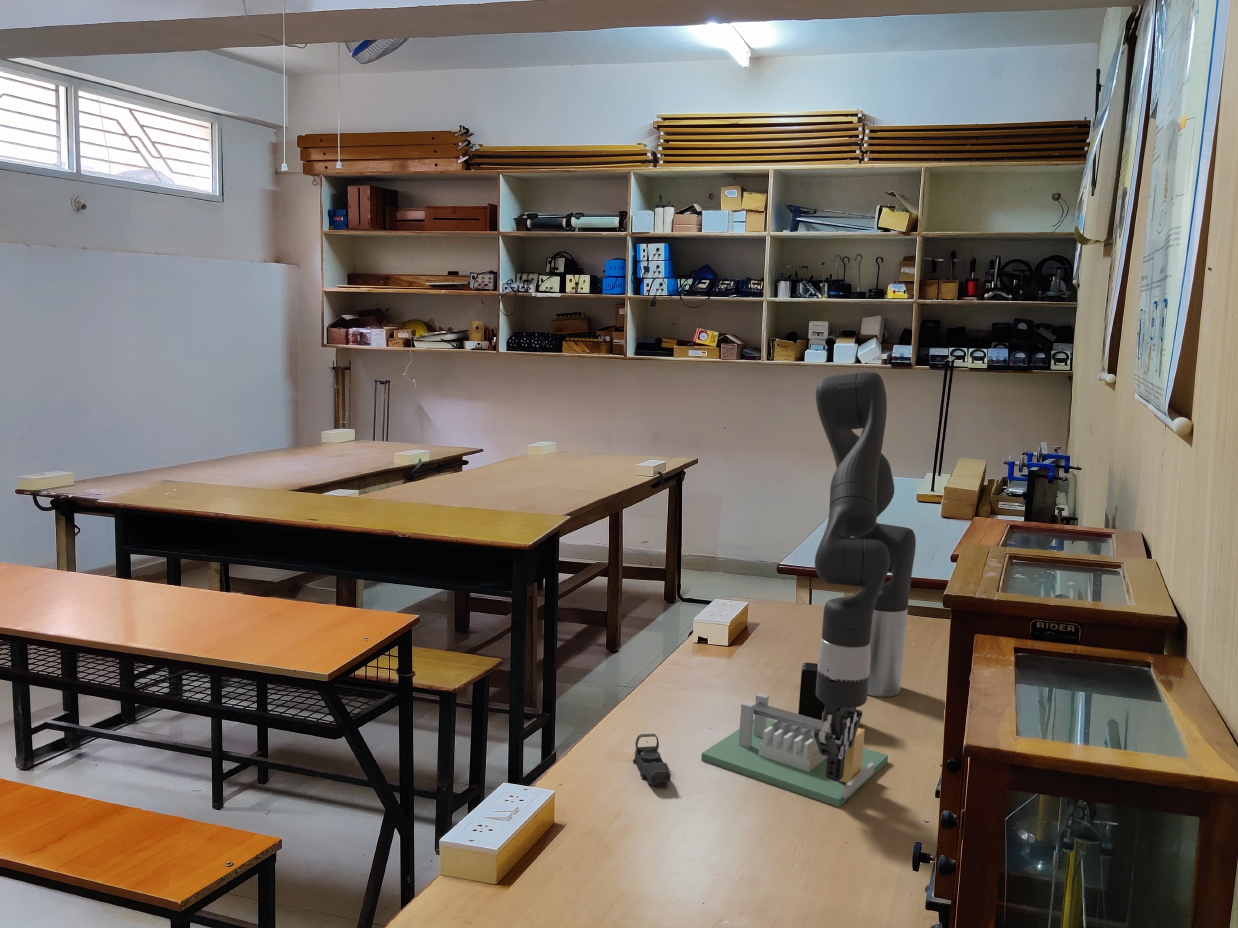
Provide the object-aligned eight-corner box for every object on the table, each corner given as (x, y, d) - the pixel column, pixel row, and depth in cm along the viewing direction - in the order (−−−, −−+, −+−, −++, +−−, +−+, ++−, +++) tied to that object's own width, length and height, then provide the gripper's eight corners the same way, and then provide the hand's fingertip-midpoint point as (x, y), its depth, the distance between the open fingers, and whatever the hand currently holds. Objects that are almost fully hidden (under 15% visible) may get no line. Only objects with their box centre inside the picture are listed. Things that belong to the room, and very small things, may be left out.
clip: (828, 765, 158) (832, 720, 157) (860, 775, 155) (864, 729, 154) (818, 773, 155) (822, 727, 154) (850, 784, 152) (854, 737, 151)
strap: (756, 706, 168) (757, 700, 168) (848, 732, 158) (848, 726, 158) (746, 712, 165) (747, 707, 165) (839, 739, 156) (839, 733, 155)
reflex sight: (646, 792, 150) (648, 761, 149) (632, 762, 160) (634, 733, 159) (671, 790, 151) (673, 759, 150) (656, 761, 161) (657, 732, 160)
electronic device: (854, 729, 177) (858, 675, 175) (797, 722, 178) (801, 669, 177) (853, 719, 181) (857, 667, 179) (798, 713, 183) (802, 661, 181)
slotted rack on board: (758, 722, 177) (761, 677, 176) (890, 762, 163) (895, 714, 162) (701, 759, 161) (704, 711, 160) (842, 808, 147) (847, 755, 146)
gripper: (837, 652, 154) (829, 756, 157) (800, 674, 143) (792, 786, 146) (884, 663, 150) (874, 771, 152) (849, 687, 139) (840, 802, 142)
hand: (834, 778), depth 149 cm, fingers closed
